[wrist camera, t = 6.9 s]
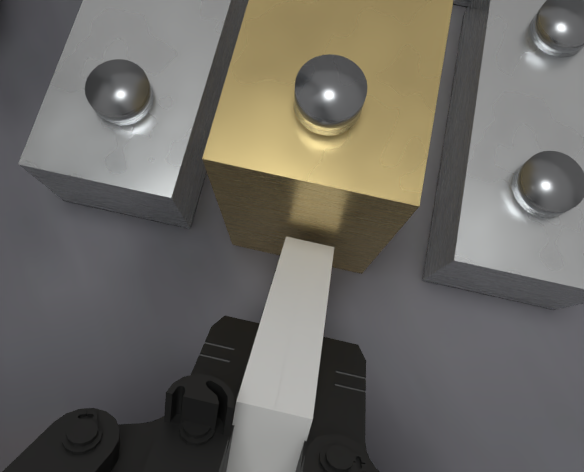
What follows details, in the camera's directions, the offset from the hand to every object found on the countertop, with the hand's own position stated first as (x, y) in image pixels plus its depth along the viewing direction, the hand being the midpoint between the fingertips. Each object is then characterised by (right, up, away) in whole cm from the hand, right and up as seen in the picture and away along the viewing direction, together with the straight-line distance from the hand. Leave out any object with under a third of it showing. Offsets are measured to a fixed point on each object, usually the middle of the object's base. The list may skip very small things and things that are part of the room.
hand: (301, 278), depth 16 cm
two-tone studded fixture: (+2, +6, +5) cm, 8 cm away
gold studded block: (+1, +6, +5) cm, 8 cm away
